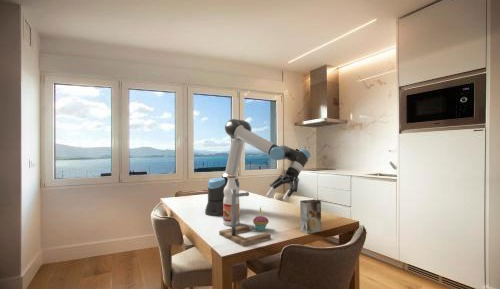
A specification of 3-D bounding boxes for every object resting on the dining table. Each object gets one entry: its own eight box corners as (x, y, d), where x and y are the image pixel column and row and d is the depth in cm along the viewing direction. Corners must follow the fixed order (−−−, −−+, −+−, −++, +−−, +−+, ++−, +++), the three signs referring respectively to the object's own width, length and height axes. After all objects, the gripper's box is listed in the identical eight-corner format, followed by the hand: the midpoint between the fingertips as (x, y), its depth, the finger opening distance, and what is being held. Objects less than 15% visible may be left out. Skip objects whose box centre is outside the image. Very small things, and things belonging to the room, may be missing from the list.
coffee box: (314, 228, 149) (314, 199, 149) (321, 231, 143) (321, 201, 143) (300, 230, 145) (300, 200, 145) (307, 233, 139) (307, 202, 139)
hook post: (230, 234, 131) (230, 189, 131) (247, 231, 137) (247, 187, 137) (233, 236, 129) (233, 189, 130) (249, 232, 135) (250, 188, 136)
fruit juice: (239, 226, 153) (239, 176, 153) (222, 226, 153) (222, 176, 153) (239, 221, 162) (239, 174, 162) (224, 221, 162) (224, 174, 163)
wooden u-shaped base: (219, 234, 137) (219, 230, 137) (246, 228, 148) (246, 225, 148) (242, 246, 122) (242, 241, 122) (270, 238, 132) (270, 234, 132)
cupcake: (252, 227, 150) (252, 205, 150) (267, 227, 151) (267, 205, 151) (253, 232, 142) (253, 209, 142) (269, 231, 142) (269, 208, 143)
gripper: (313, 176, 154) (295, 206, 145) (282, 173, 174) (264, 199, 164) (307, 167, 151) (288, 197, 142) (276, 165, 171) (258, 191, 161)
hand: (275, 198), depth 153 cm, fingers open, 13 cm apart
